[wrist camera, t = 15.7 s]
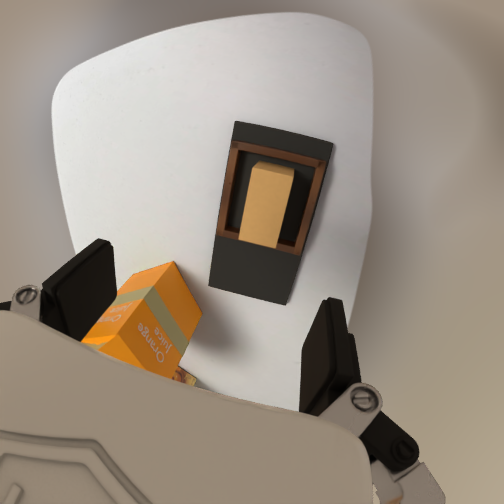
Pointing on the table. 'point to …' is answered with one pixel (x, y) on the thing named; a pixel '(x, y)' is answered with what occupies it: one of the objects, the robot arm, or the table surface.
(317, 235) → the table surface
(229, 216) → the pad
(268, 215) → the brown block
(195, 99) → the table surface
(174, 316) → the orange juice
